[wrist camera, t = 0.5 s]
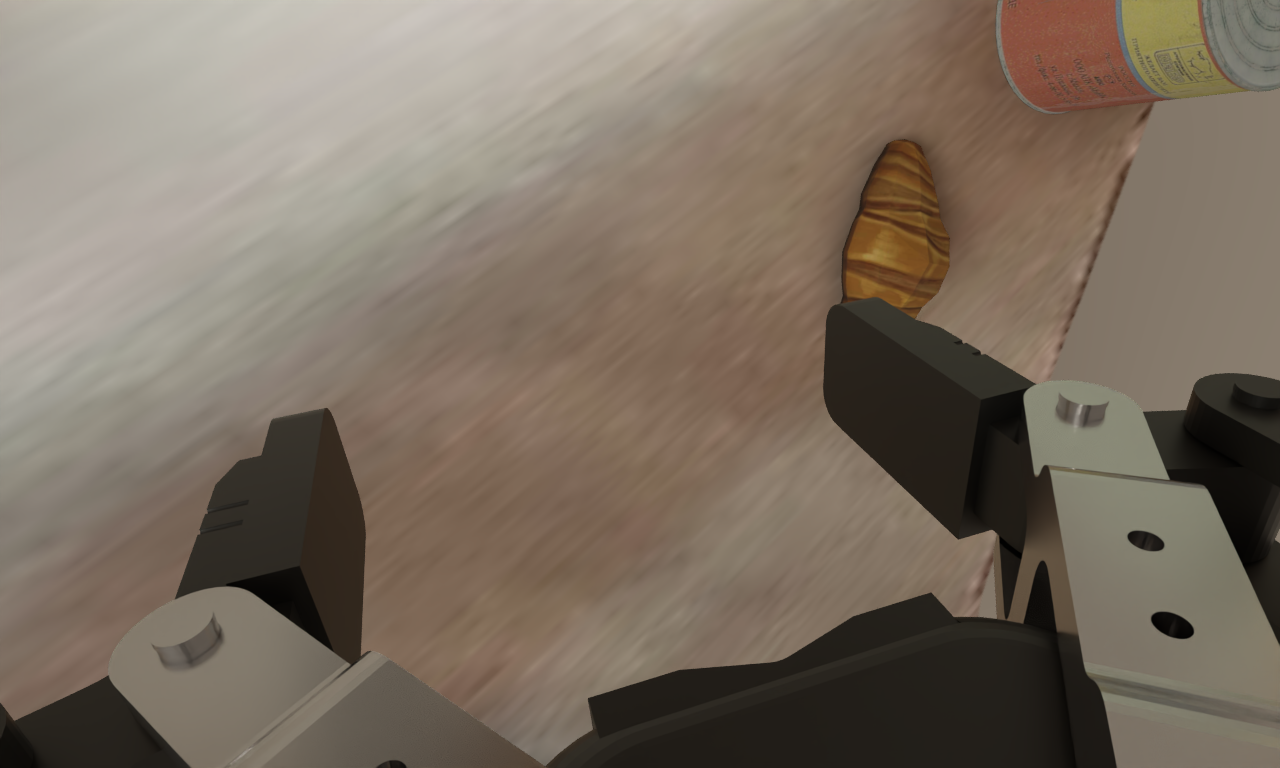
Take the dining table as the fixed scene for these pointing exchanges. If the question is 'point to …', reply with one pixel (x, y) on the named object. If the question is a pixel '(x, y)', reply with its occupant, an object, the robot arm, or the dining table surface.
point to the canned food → (1135, 50)
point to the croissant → (897, 234)
